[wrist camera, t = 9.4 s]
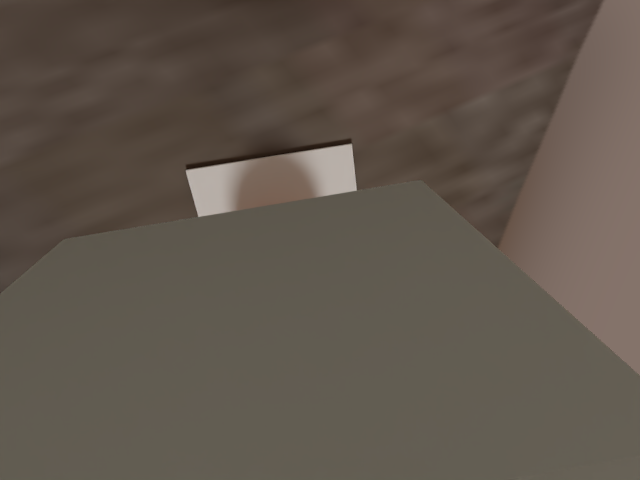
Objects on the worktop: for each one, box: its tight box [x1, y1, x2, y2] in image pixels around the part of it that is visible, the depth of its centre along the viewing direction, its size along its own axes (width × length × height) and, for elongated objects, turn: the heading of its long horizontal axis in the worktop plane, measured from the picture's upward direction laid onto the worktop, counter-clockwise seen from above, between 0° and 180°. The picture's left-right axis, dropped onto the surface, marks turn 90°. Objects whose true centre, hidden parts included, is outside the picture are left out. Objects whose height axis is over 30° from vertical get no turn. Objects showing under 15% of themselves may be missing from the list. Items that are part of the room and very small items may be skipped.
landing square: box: [186, 143, 357, 217], centre depth 25 cm, size 9×9×1 cm
